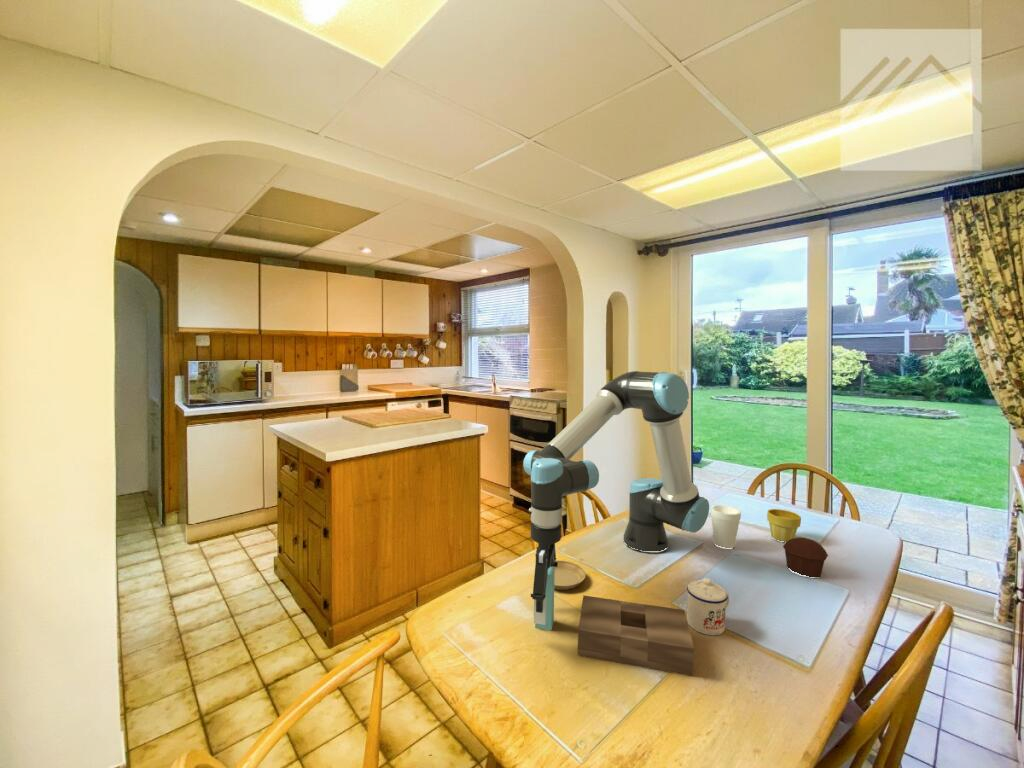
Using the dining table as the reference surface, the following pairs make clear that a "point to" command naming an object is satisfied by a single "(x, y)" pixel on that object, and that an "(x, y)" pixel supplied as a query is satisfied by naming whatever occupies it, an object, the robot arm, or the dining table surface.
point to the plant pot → (783, 524)
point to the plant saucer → (568, 575)
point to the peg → (549, 601)
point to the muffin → (805, 556)
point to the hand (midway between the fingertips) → (544, 606)
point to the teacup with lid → (706, 607)
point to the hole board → (636, 635)
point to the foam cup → (725, 525)
